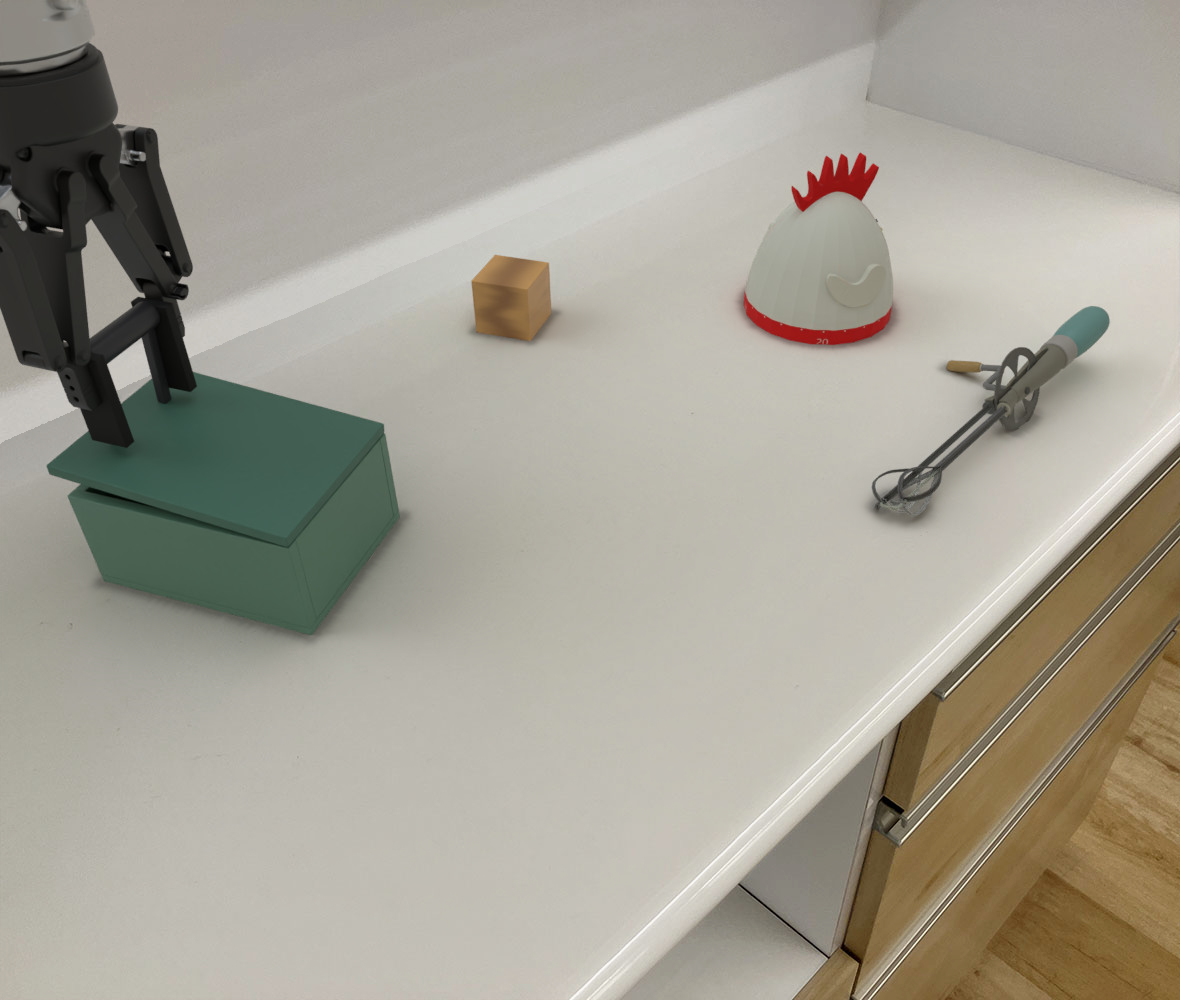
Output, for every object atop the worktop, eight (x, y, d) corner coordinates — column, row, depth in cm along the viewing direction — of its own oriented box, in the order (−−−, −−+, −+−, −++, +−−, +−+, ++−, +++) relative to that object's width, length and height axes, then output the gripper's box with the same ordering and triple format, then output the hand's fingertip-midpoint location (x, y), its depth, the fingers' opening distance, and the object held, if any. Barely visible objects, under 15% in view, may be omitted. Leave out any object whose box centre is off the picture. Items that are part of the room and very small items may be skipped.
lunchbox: (104, 582, 73) (66, 495, 68) (210, 476, 82) (184, 393, 77) (312, 637, 69) (288, 548, 64) (400, 518, 78) (385, 433, 73)
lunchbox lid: (48, 474, 67) (9, 365, 62) (170, 373, 76) (145, 270, 71) (287, 548, 64) (268, 438, 58) (385, 432, 73) (376, 328, 67)
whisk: (807, 525, 83) (786, 453, 80) (1015, 346, 98) (1004, 280, 96) (923, 550, 75) (905, 471, 72) (1130, 350, 90) (1122, 279, 87)
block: (476, 333, 98) (471, 280, 95) (499, 306, 102) (494, 254, 99) (530, 342, 97) (527, 289, 93) (551, 314, 101) (549, 262, 97)
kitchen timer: (918, 330, 97) (951, 174, 88) (785, 358, 94) (804, 198, 84) (842, 265, 108) (864, 119, 98) (720, 288, 104) (730, 139, 95)
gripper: (-61, 121, 47) (97, 510, 62) (193, 10, 61) (272, 350, 76) (-185, 104, 49) (-4, 485, 64) (87, 0, 63) (185, 333, 78)
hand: (146, 411), depth 70 cm, fingers closed on lunchbox lid, 6 cm apart
